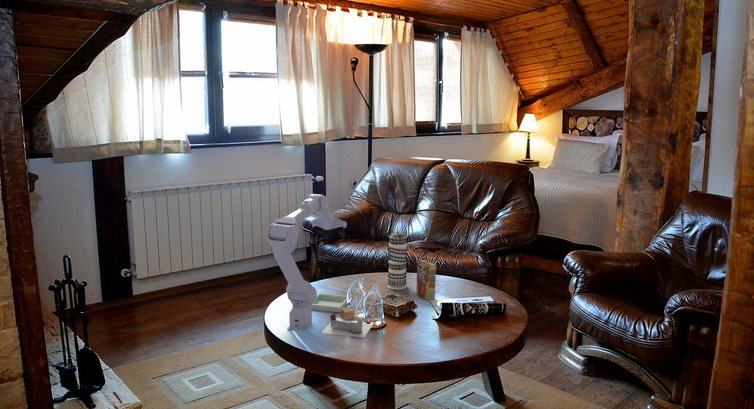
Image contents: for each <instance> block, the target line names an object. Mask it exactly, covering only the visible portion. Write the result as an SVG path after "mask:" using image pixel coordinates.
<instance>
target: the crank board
mask: <svg viewBox="0 0 754 409" xmlns="http://www.w3.org/2000/svg"><path fill="white" fill-rule="evenodd" d="M336 318H338V319H341V317H337V316H336ZM361 320H362V333H360V334H353V333H351V332H350V331H348V330H343V329H338V328H332V327H331V322H330V323H328V325H327V326H326V327H325V328H324V329H323V330H322V331H321V334H327V335H329V334H330V335H337V336H338V335H339V336H346V337H356V338H362V339H363V338H365V337H366V336H367V334H368V332H369V331H370V330H371V328H372V327H373V326H374V324H367V323H365V322H364V319H361Z"/></svg>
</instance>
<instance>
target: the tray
mask: <svg viewBox="0 0 754 409" xmlns="http://www.w3.org/2000/svg"><path fill="white" fill-rule="evenodd" d="M347 296H348V295H343V294H342V295H341V294H332V293H317V296H316V300H315V301H314V302H313V303H312V311H324V312H333V313H341V308H346V306H347V305H346V302H347Z"/></svg>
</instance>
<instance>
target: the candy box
mask: <svg viewBox="0 0 754 409" xmlns="http://www.w3.org/2000/svg"><path fill="white" fill-rule="evenodd" d="M416 263H417V264H416V293H415V294H416V295H417V296H419V297H420V298H423V299H425V300H428V301H429V300H430V301H431V300H434V299H436V283H437V282H436V281H437V278H436V277H437V276H436V275H437V264H436V263H433V262H431V261H428V260H426V259H421V260H417V261H416Z"/></svg>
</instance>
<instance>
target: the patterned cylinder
mask: <svg viewBox="0 0 754 409" xmlns="http://www.w3.org/2000/svg"><path fill="white" fill-rule="evenodd" d="M388 238H389V239H388V241H389V242H388V244H387V259H388V261H387V262H388V271H387V274H388V275H387V277H388V278H387V288H388V289H390V290H391V289H392V290H398V291H400V290H405V289H406V288H407V284H408V283H407V281H408V279H407V274H408V273H407V267H406V265H407V263H408V260H407V259H408V257H407V255H408V254H409V253H408V251H409V250H408V248H407V235H406V234H405V233H404V232H400V231H394V232H392V233H391V234H390V235H388Z"/></svg>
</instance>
